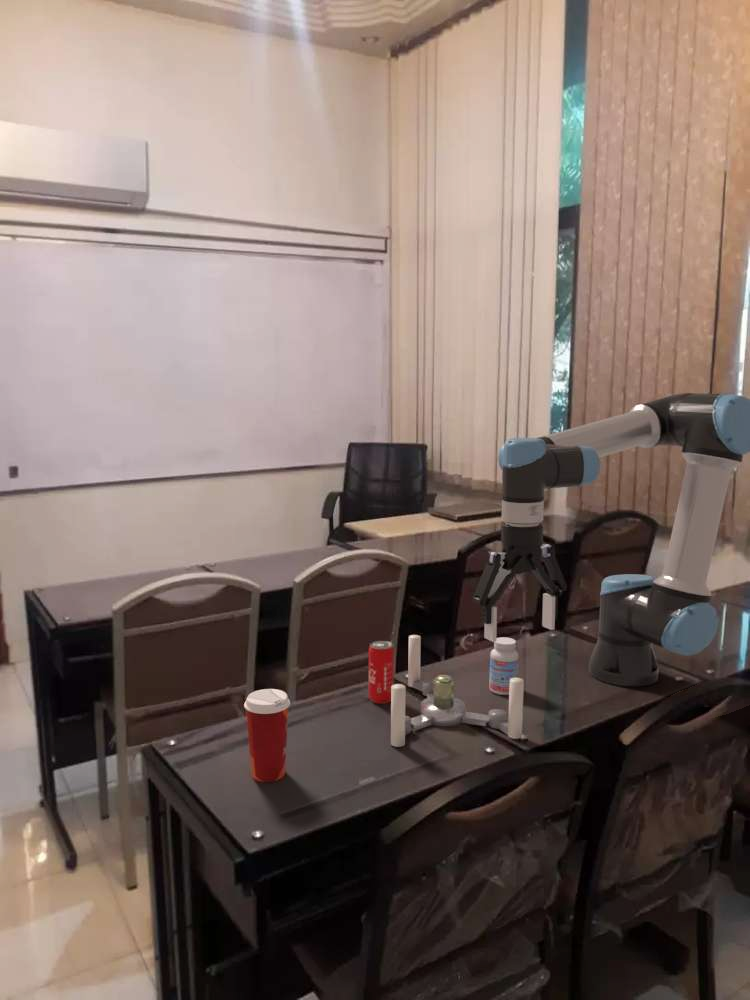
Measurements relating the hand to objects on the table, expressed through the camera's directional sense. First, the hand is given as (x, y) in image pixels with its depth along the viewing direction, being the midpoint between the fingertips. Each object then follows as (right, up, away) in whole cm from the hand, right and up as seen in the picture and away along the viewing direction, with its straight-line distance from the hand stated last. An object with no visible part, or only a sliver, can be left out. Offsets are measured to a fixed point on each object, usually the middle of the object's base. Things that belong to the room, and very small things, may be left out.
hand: (519, 633), depth 147 cm
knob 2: (-2, -19, +3) cm, 19 cm away
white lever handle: (-17, -16, +22) cm, 32 cm away
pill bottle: (+1, -16, +23) cm, 28 cm away
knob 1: (-23, -19, 0) cm, 30 cm away
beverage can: (-26, -17, +17) cm, 36 cm away
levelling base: (-14, -18, +11) cm, 25 cm away
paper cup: (-46, -22, -13) cm, 52 cm away
